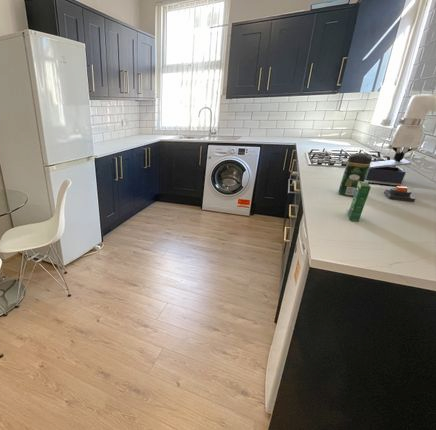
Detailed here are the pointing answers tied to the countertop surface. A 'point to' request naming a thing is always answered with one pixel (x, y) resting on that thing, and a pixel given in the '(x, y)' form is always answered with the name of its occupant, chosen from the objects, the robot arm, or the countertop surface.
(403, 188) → the button
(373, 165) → the lid
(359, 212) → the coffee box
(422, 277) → the countertop surface
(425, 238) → the countertop surface
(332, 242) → the countertop surface
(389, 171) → the chest
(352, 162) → the coffee jar
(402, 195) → the control block
